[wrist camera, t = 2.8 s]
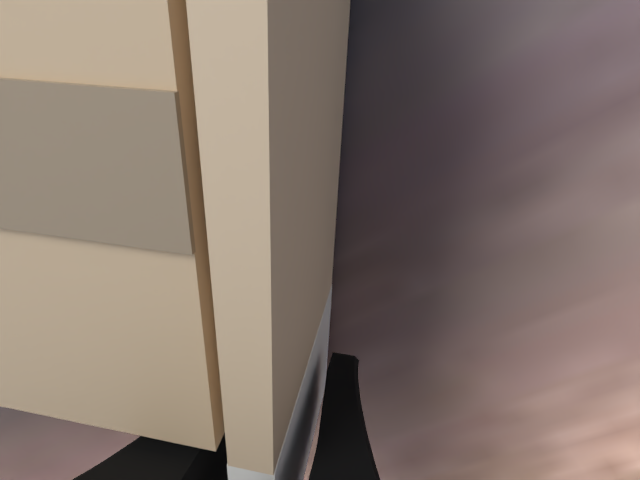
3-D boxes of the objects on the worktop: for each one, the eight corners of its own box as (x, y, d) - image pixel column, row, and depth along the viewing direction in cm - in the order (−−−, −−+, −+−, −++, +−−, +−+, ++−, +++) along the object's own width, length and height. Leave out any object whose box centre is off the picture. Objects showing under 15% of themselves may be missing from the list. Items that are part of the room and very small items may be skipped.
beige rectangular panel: (363, -182, 8) (262, -620, 2) (325, 385, 14) (275, 595, 9) (317, -181, 8) (130, -593, 3) (300, 381, 14) (237, 585, 9)
